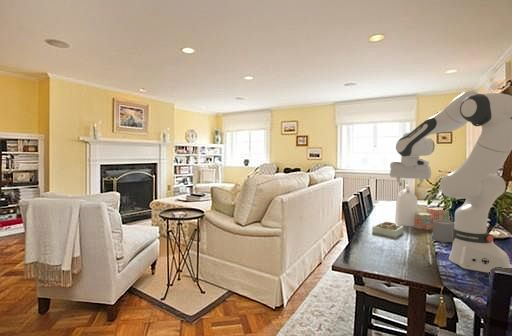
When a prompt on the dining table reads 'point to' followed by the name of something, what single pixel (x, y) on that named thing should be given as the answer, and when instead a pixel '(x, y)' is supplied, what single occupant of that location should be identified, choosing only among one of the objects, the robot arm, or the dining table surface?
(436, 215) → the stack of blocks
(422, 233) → the dining table surface
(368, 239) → the dining table surface
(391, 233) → the sage crate
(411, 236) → the dining table surface
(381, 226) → the pine crate
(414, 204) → the milk
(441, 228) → the coffee mug
